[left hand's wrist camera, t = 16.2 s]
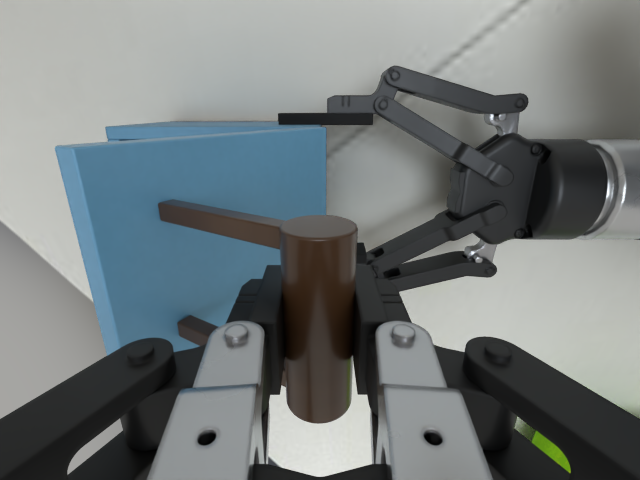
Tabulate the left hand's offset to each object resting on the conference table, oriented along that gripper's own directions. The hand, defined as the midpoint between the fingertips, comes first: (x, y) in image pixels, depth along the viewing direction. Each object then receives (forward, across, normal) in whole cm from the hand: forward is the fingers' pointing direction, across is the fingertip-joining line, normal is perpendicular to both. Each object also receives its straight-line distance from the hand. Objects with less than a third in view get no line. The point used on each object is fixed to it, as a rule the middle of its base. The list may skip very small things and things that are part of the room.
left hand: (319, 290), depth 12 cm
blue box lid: (+6, -4, 0) cm, 7 cm away
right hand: (+16, -3, 0) cm, 17 cm away
